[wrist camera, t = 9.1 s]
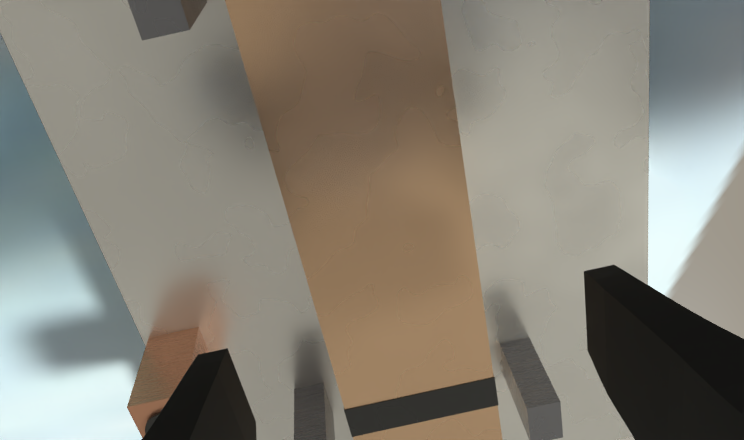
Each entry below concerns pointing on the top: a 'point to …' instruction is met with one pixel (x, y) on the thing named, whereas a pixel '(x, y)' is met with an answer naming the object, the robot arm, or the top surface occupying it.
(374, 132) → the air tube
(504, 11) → the firebox plate
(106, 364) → the top surface
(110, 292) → the top surface
